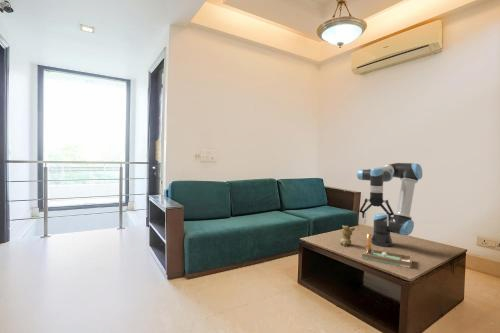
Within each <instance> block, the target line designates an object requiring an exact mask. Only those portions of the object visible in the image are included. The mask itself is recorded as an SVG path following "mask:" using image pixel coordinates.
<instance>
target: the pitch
mask: <svg viewBox="0 0 500 333" xmlns="http://www.w3.org/2000/svg"><path fill="white" fill-rule="evenodd" d="M364 249H365V251H364V253H363V252H362V253H361V258H362V259H364V260H368V261H373V262H379V263H383V264H388V265H393V266H398V267H399V266H400V267H405V268H409V269H412V265H413V254H412V255H409V254H408V255H407V254H403V253H397V252H391V251H386V250H385V251H384V250H379V249H375V248H374V249H373V248H371V252H372V250H374V254H373V255H370V254H365V252H366V250H367V247H365V248H364ZM382 252H386V253H387V257H382V255H381V254H382Z"/></svg>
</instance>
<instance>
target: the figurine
mask: <svg viewBox="0 0 500 333" xmlns="http://www.w3.org/2000/svg"><path fill="white" fill-rule="evenodd" d="M341 227H342V230H341V231H342V232H341V233H342V235H341V236H342V237H341V238H340V239H339V244H340V245H342V246H344V247H349V246H351V244H352V240H351V238H352V237H351V236H352V235H353V232H354V231H355V229H356V228H355V227H349V226H348V225H344V224H342V226H341Z"/></svg>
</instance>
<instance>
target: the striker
mask: <svg viewBox="0 0 500 333" xmlns="http://www.w3.org/2000/svg"><path fill="white" fill-rule="evenodd" d="M371 238H372V234H370V233H367V234H366V248H367V250H366V252H365V251H364V253H365V254H370V255H373V254H374V250H372V252H371V249H372V243H371Z"/></svg>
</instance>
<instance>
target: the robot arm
mask: <svg viewBox="0 0 500 333" xmlns="http://www.w3.org/2000/svg"><path fill="white" fill-rule="evenodd" d="M356 177H357V179H358V180H359V181H370V189H369V191H370V192H369V199H368V198H365V199H364V203H363V204H362V206H361V207H360V209H359V213H361V214H362V215H361V216H362V219H363V224H366V222H367V219H366V217H367V216H366V215H367V213H366V212H367V211H368V210H369V209H370V208H371V207H372V206H373V207H381V209H382V210H383V212H385V213H376V214H374V215H373V233H372V234H371V245H375V246H379V247H393V245H394V244H393V242H394V241H393V239H392V236H391V233H393V234H398V235H400V236H410V235H412V233H413V231H414V227H415V222H414V221H413V220H412V218H413V217H411V210H412V203H413V197H414V193H415V192H414V191H415V186H416V184H418V182H419V180H421V179H423V169H422V166H421V164H419V163H414V162H409V163H407V162H394V163H389V164H385V165H384V166H380V167H372V168H368V169H363V168H362V169H359V170H357V172H356ZM393 178H397V179H399V180H400V181H401V186H400V191H399V197H398V200H397V201H398V202H397V206H396V207H397V208H396V212H395V213H394V211H393V209H392V207H391V205H390V202H389V200H388V199H385V200H384V196H383V195H384V193H383V192H384V183H385V182H386V183H387V182H390V181H392V180H393ZM367 203H369V204H368V206H366V204H367ZM383 203H384V204H385V205H386V206H387V208H388V209H387V208H386V207H385V206H384V204H383ZM365 206H366V207H365ZM364 208H365V209H364Z"/></svg>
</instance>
